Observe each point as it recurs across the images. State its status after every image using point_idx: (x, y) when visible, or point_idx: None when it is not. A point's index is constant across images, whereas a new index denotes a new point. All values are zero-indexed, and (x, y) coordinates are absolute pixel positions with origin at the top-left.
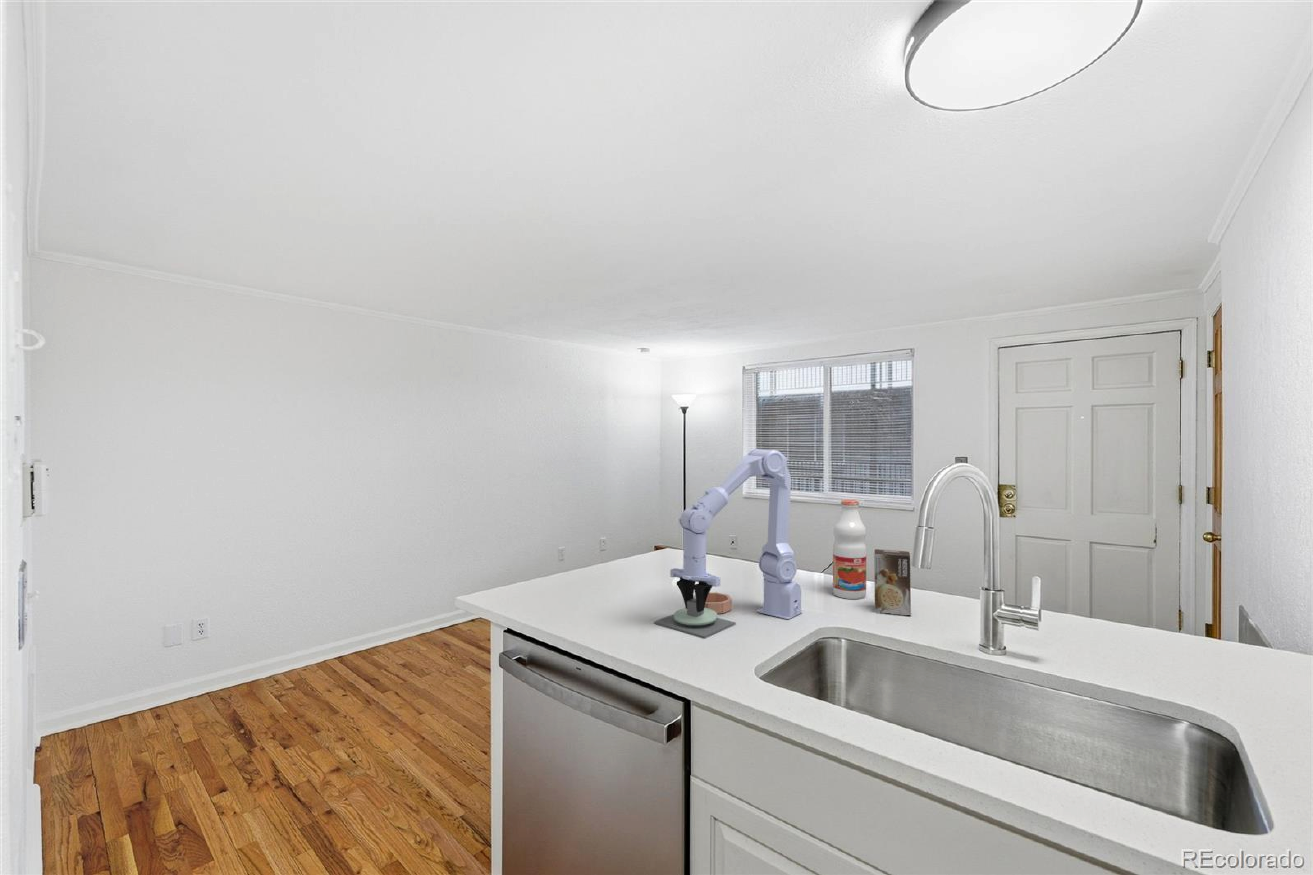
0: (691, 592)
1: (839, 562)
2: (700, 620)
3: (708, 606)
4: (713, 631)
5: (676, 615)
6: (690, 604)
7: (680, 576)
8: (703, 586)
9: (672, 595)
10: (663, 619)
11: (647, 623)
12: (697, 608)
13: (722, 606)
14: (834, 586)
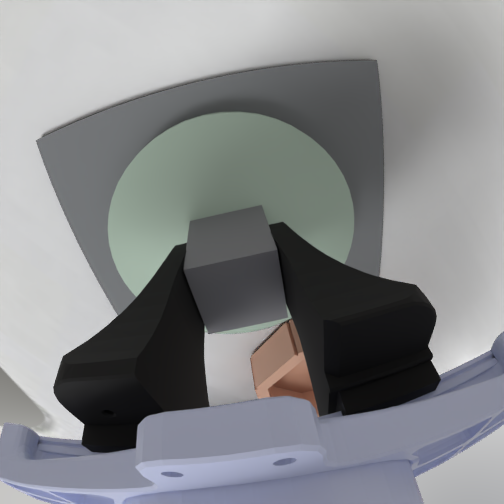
0: (302, 333)
1: None
2: (133, 208)
3: (289, 345)
4: (70, 211)
5: (298, 148)
6: (240, 247)
7: (444, 389)
8: (63, 402)
9: (474, 317)
10: (367, 116)
11: (393, 41)
12: (175, 252)
13: (256, 377)
14: None
